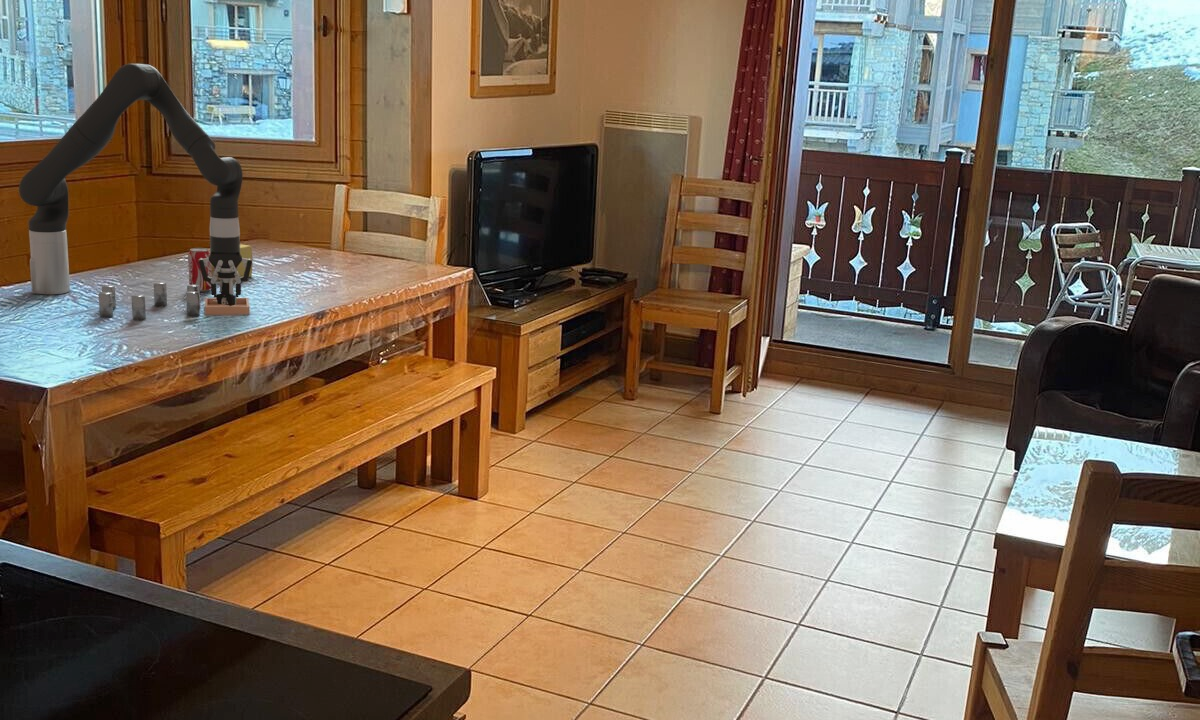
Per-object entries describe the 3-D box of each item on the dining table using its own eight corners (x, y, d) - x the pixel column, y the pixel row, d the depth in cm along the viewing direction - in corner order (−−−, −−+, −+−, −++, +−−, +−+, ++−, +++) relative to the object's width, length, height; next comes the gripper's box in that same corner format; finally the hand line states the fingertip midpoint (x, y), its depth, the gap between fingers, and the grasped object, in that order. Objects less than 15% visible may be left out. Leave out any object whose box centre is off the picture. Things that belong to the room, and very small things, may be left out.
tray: (205, 315, 299) (204, 307, 298) (205, 305, 309) (205, 298, 308) (249, 314, 302) (249, 306, 302) (248, 305, 312) (248, 297, 312)
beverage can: (204, 293, 323) (203, 252, 320) (184, 291, 325) (183, 250, 322) (216, 289, 329) (215, 248, 326) (196, 287, 331) (195, 246, 327)
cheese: (203, 278, 345) (202, 245, 342) (227, 272, 354) (226, 241, 352) (231, 282, 341) (230, 249, 339) (254, 276, 351) (253, 244, 348)
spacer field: (97, 320, 286) (96, 297, 284) (104, 304, 303) (103, 282, 302) (199, 319, 294) (198, 296, 292) (200, 303, 311) (199, 282, 310)
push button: (207, 304, 303) (207, 267, 301) (219, 300, 308) (218, 264, 306) (229, 307, 302) (229, 270, 299) (241, 303, 307) (240, 267, 304)
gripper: (195, 235, 294) (197, 300, 299) (253, 236, 299) (254, 299, 303) (196, 231, 301) (198, 294, 306) (252, 232, 306) (253, 293, 310)
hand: (226, 296), depth 304 cm, fingers closed on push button, 5 cm apart
